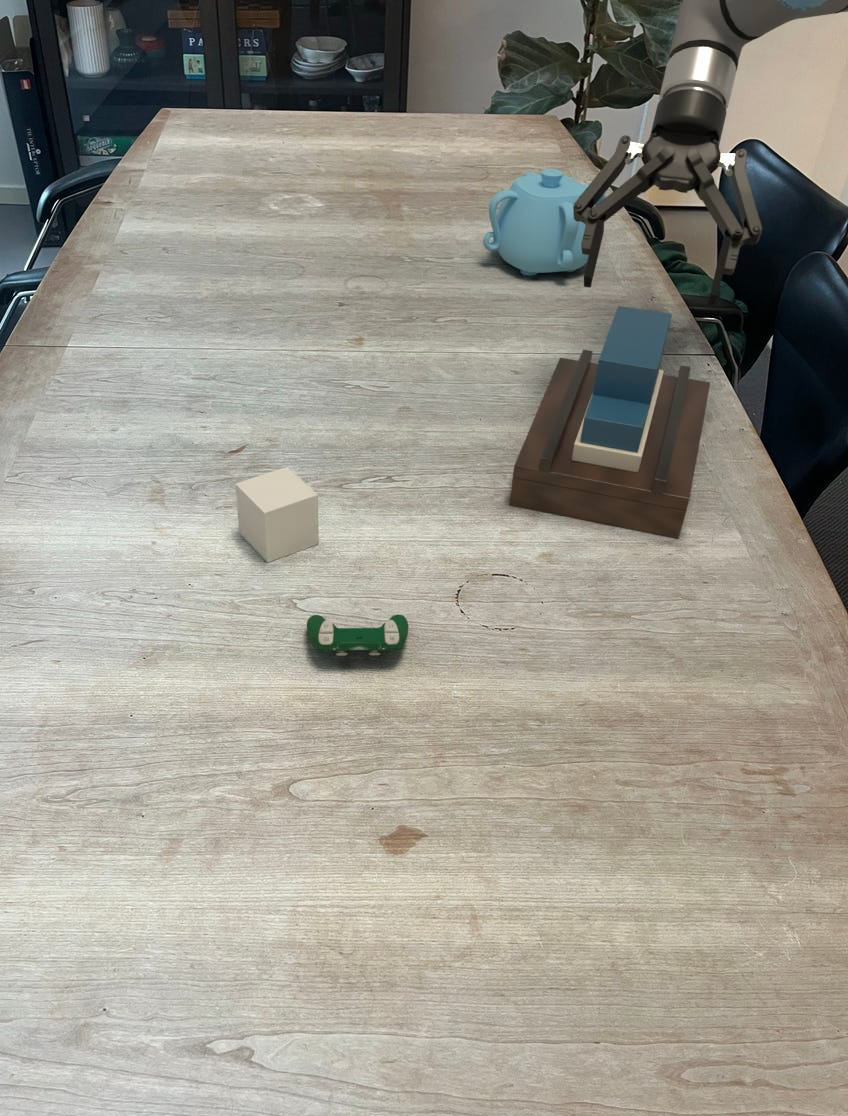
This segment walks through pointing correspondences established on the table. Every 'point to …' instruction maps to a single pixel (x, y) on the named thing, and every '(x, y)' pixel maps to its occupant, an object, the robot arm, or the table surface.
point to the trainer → (624, 391)
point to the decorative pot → (538, 223)
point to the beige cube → (277, 514)
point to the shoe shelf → (605, 491)
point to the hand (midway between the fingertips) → (648, 291)
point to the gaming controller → (357, 636)
